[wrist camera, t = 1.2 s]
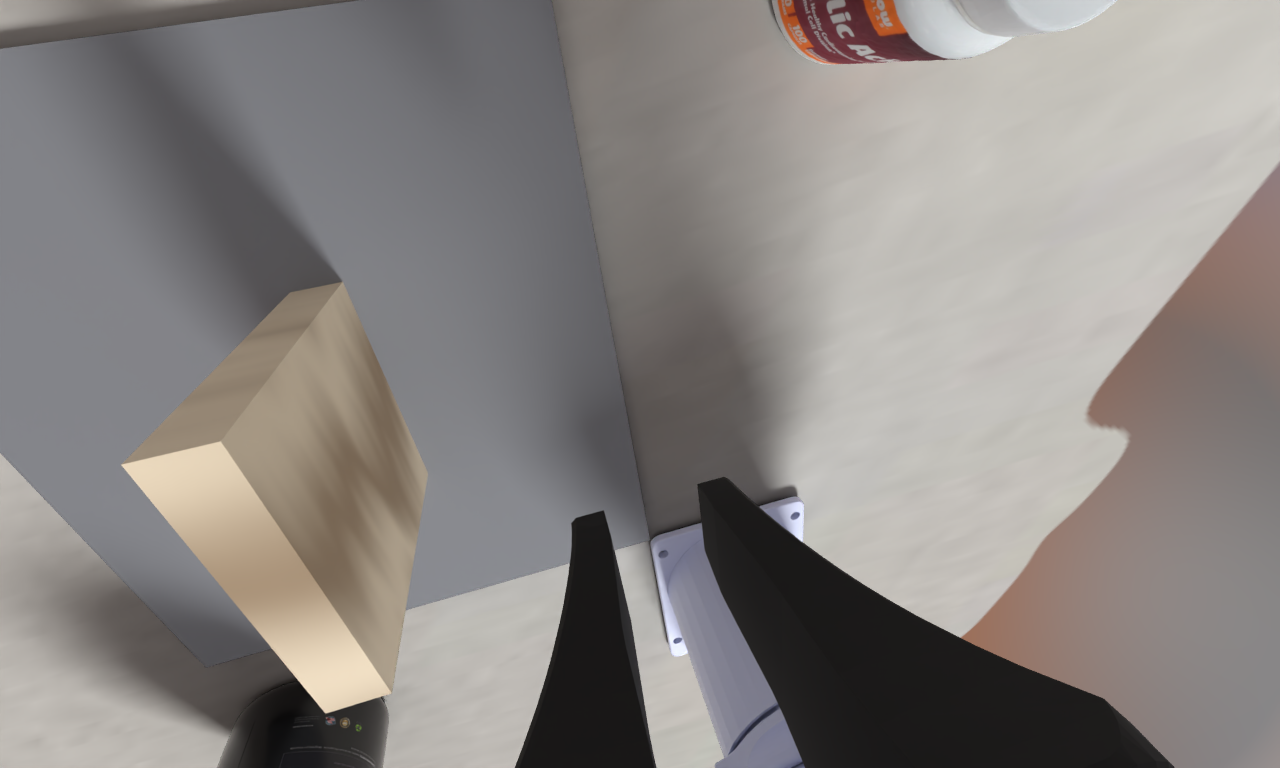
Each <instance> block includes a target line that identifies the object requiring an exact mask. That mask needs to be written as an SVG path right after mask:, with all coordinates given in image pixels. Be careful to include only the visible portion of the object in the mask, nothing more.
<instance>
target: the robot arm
mask: <svg viewBox="0 0 1280 768" xmlns="http://www.w3.org/2000/svg"><path fill="white" fill-rule="evenodd" d="M697 485H698V494H699V503H700V512H701V522H702V523H699V524H695V525H692V526H688V527H685V528H681V529H678V530H674V531H671V532H668V533H664V534H661V535H658V536H656V537H654V538H653V539H652V541H651V550H652V556H653V561H654V567H655V572H656V578H657V583H658V589H659V594H660V600H661V605H662V611H663V616H664V621H665V627H666V632H667V638H668V643H669V649H670V652H671V654H672V655H673V656H681V655H684V654H689V657H690V660H691V663H692V666H693V669H694V672H695V674H696V677H697V680H698V683H699V686H700V689H701V692H702V695H703V698H704V701H705V703H706V706H707V709H708V712H709V715H710V718H711V721H712V724H713V727H714V729H715V732H716V735H717V738H718V741H719V744H720V747H721V750H722V753H723V756H724V759H722V760H720V761H719V762H717V763H716V764H715V768H1174V766H1173V765H1172V764H1171V763H1170V762H1169V761H1168V760H1167V759H1166V758H1165V757H1164V756H1163V755H1162V754H1161V753H1160V752H1158V750H1157V749H1156V748H1155V747H1154V746H1153V745H1152V744H1151V743H1150V742H1149V741H1148V740H1147V739H1146V738H1145V737H1144V736H1143V735H1142V734H1141V733H1140V732H1139V731H1138V730H1137V729H1136V728H1135V727H1134V726H1133V725H1132V724H1131V723H1130V722H1129V721H1128V720H1127V719H1126V718H1125V717H1123V716H1122V715H1121V714H1120V713H1119V712H1118V711H1117V710H1115V709H1114V708H1113V707H1112V706H1111V705H1110V704H1109V703H1108V702H1107V701H1106V700H1105V699H1103V698H1101V697H1098V696H1096V695H1093V694H1091V693H1088V692H1086V691H1083V690H1080V689H1078V688H1075V687H1072V686H1070V685H1067V684H1065V683H1063V682H1060V681H1057V680H1055V679H1052V678H1050V677H1047V676H1045V675H1042V674H1040V673H1037V672H1035V671H1032V670H1029V669H1027V668H1025V667H1022V666H1020V665H1018V664H1015V663H1013V662H1011V661H1009V660H1006V659H1004V658H1002V657H999V656H997V655H995V654H993V653H991V652H988V651H986V650H984V649H982V648H980V647H977V646H975V645H973V644H971V643H969V642H967V641H965V640H963V639H961V638H959V637H957V636H956V635H954V634H952V633H950V632H948V631H946V630H944V629H942V628H940V627H938V626H936V625H934V624H932V623H930V622H928V621H926V620H924V619H922V618H920V617H918V616H916V615H914V614H913V613H911V612H909V611H907V610H906V609H904V608H902V607H900V606H899V605H897V604H895V603H893V602H892V601H890V600H888V599H886V598H885V597H883V596H881V595H880V594H878V593H877V592H875V591H873V590H872V589H870V588H868V587H867V586H865V585H863V584H862V583H860V582H859V581H857V580H856V579H854V578H853V577H851V576H850V575H848V574H847V573H845V572H844V571H842V570H841V569H839V568H838V567H836V566H835V565H833V564H832V563H831V562H829V561H828V560H826V559H825V558H823V557H822V556H821V555H819V554H818V553H817V552H815V551H814V550H812V549H811V548H810V547H808V546H807V545H806V544H804V543H803V522H804V504H803V502H802V500H801V499H800V498H799V497H796V496H795V497H790V498H786V499H783V500H779V501H776V502H772V503H769V504H765V505H762V506H758V505H756V504H755V503H754V502H753V501H752V500H751V499H750V498H748V497H747V496H746V495H745V494H744V493H743V492H742V491H741V490H740V489H739V488H737V487H736V486H735V485H734V484H733V483H732V482H731V481H730V480H729V479H727V478H725V477H722V478H718V479H715V480H711V481H707V482H704V483H700V484H697ZM571 527H572V545H571V558H570V567H569V575H568V581H567V587H566V593H565V599H564V605H563V610H562V615H561V619H560V624H559V628H558V632H557V637H556V641H555V645H554V649H553V653H552V657H551V661H550V665H549V668H548V672H547V675H546V679H545V682H544V685H543V689H542V692H541V695H540V698H539V701H538V705H537V708H536V711H535V714H534V716H533V719H532V722H531V725H530V728H529V731H528V733H527V736H526V739H525V742H524V745H523V748H522V750H521V753H520V756H519V758H518V761H517V763H516V766H515V768H656V764H655V760H654V755H653V750H652V745H651V740H650V735H649V730H648V723H647V717H646V711H645V705H644V699H643V692H642V686H641V680H640V674H639V668H638V661H637V655H636V649H635V643H634V637H633V631H632V625H631V619H630V615H629V611H628V607H627V602H626V598H625V594H624V589H623V585H622V581H621V577H620V572H619V568H618V564H617V560H616V555H615V551H614V547H613V543H612V538H611V534H610V531H609V527H608V523H607V520H606V516H605V512H604V510H602V511H599V512H595V513H592V514H588V515H584V516H581V517H577V518H575V519H574V521H573V522H572V523H571ZM664 550H665V551H664ZM661 551H663V552H661Z"/></svg>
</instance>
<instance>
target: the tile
mask: <svg viewBox="0 0 1280 768" xmlns="http://www.w3.org/2000/svg"><path fill="white" fill-rule="evenodd" d="M121 465H122V467H123V468H124V469H125V470H126V471H127V473H128V474H129V475H130V476H131V478H132V479H133V480H134V481H135V482H136V484H137V485H138V486H139V487H140V488H141V490H142V491H143V492H144V493H145V495H146V496H147V497H148V498H149V499H150V501H151V502H152V503H153V504H154V506H155V507H156V508H157V509H158V510H159V512H160V513H161V514H162V515H163V516H164V518H165V519H166V520H167V521H168V523H169V524H170V525H171V526H172V527H173V529H174V530H175V531H176V532H177V533H178V535H179V536H180V537H181V538H182V540H183V541H184V542H185V543H186V544H187V546H188V547H189V548H190V549H191V551H192V552H193V553H194V554H195V555H196V557H197V558H198V559H199V560H200V561H201V563H202V564H203V565H204V566H205V568H206V569H207V570H208V571H209V572H210V574H211V575H212V576H213V577H214V578H215V580H216V581H217V582H218V583H219V585H220V586H221V587H222V588H223V589H224V591H225V592H226V593H227V594H228V596H229V597H230V598H231V599H232V600H233V602H234V603H235V604H236V605H237V606H238V608H239V609H240V610H241V611H242V613H243V614H244V615H245V616H246V617H247V619H248V620H249V621H250V622H251V623H252V625H253V626H254V627H255V628H256V630H257V631H258V632H259V633H260V634H261V636H262V637H263V638H264V639H265V641H266V642H267V643H268V644H269V645H270V647H271V648H272V649H273V650H274V651H275V653H276V654H277V655H278V656H279V658H280V659H281V660H282V661H283V662H284V664H285V665H286V666H287V667H288V668H289V670H290V671H291V672H292V673H293V675H294V676H295V677H296V678H297V679H298V681H299V682H300V683H301V684H302V686H303V687H304V688H305V689H306V690H307V692H308V693H309V694H310V695H311V696H312V698H313V699H314V700H315V701H316V703H317V704H318V705H319V706H320V707H321V709H322V710H323V711H324V712H325V713H329V712H333V711H336V710H339V709H342V708H346V707H349V706H352V705H355V704H359V703H362V702H365V701H368V700H372V699H375V698H378V697H381V696H385V695H388V694H391V693H392V689H393V683H394V677H395V671H396V665H397V658H398V652H399V646H400V640H401V634H402V628H403V622H404V616H405V610H406V604H407V598H408V592H409V586H410V580H411V574H412V568H413V562H414V556H415V550H416V544H417V538H418V532H419V526H420V519H421V513H422V507H423V501H424V495H425V489H426V483H427V477H428V472H427V470H426V468H425V465H424V463H423V461H422V459H421V456H420V454H419V452H418V450H417V447H416V445H415V443H414V441H413V438H412V436H411V434H410V432H409V429H408V427H407V425H406V423H405V420H404V418H403V416H402V414H401V411H400V409H399V407H398V405H397V402H396V400H395V398H394V396H393V393H392V391H391V389H390V387H389V385H388V382H387V380H386V378H385V376H384V373H383V371H382V369H381V367H380V364H379V362H378V360H377V358H376V355H375V353H374V351H373V349H372V346H371V344H370V342H369V340H368V337H367V335H366V333H365V331H364V328H363V326H362V324H361V322H360V319H359V317H358V315H357V313H356V310H355V308H354V306H353V304H352V301H351V299H350V297H349V295H348V292H347V290H346V288H345V286H344V284H343V282H339V283H334V284H329V285H324V286H319V287H314V288H310V289H305V290H300V291H295V292H290V293H289V294H288V295H287V296H286V297H285V298H284V299H283V300H282V301H281V302H280V303H279V304H278V305H277V306H276V307H275V308H274V309H273V310H272V311H271V312H270V313H269V314H268V315H267V316H266V317H265V318H264V319H263V320H262V322H261V323H260V324H259V325H258V326H257V327H256V328H255V329H254V330H253V331H252V332H251V333H250V334H249V335H248V336H247V337H246V338H245V339H244V340H243V341H242V342H241V343H240V344H239V345H238V346H237V347H236V348H235V349H234V350H233V351H232V352H231V353H230V354H229V355H228V356H227V357H226V358H225V359H224V360H223V361H222V362H221V363H220V364H219V365H218V366H217V367H216V368H215V369H214V370H213V371H212V373H211V374H210V375H209V376H208V377H207V378H206V379H205V380H204V381H203V382H202V383H201V384H200V385H199V386H198V387H197V388H196V389H195V390H194V391H193V392H192V393H191V394H190V395H189V396H188V397H187V398H186V399H185V400H184V401H183V402H182V403H181V404H180V405H179V406H178V407H177V408H176V409H175V410H174V411H173V412H172V413H171V414H170V415H169V416H168V417H167V418H166V419H165V420H164V421H163V423H162V424H161V425H160V426H159V427H158V428H157V429H156V430H155V431H154V432H153V433H152V434H151V435H150V436H149V437H148V438H147V439H146V440H145V441H144V442H143V443H142V444H141V445H140V446H139V447H138V448H137V449H136V450H135V451H134V452H133V453H132V454H131V455H130V456H129V457H128V458H127V459H126V460H125V461H124V462H123V463H122V464H121Z"/></svg>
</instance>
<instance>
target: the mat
mask: <svg viewBox="0 0 1280 768" xmlns="http://www.w3.org/2000/svg"><path fill="white" fill-rule="evenodd" d="M339 282H343V284H344V286H345V288H346V290H347V292H348V295H349V297H350V299H351V301H352V304H353V306H354V308H355V310H356V313H357V315H358V317H359V319H360V322H361V324H362V326H363V328H364V331H365V333H366V335H367V337H368V340H369V342H370V344H371V346H372V349H373V351H374V353H375V355H376V358H377V360H378V362H379V364H380V367H381V369H382V371H383V373H384V376H385V378H386V380H387V382H388V385H389V387H390V389H391V391H392V393H393V396H394V398H395V400H396V402H397V405H398V407H399V409H400V411H401V414H402V416H403V418H404V420H405V423H406V425H407V427H408V429H409V432H410V434H411V436H412V438H413V441H414V443H415V445H416V447H417V450H418V452H419V454H420V456H421V459H422V461H423V463H424V465H425V468H426V470H427V472H428V477H427V483H426V489H425V495H424V501H423V507H422V513H421V519H420V526H419V532H418V538H417V544H416V550H415V556H414V562H413V568H412V574H411V580H410V586H409V592H408V598H407V604H406V610H408V609H412V608H415V607H419V606H422V605H426V604H429V603H433V602H436V601H440V600H443V599H447V598H450V597H453V596H457V595H460V594H464V593H467V592H471V591H474V590H478V589H481V588H485V587H488V586H492V585H495V584H499V583H502V582H506V581H509V580H513V579H516V578H520V577H523V576H527V575H530V574H534V573H537V572H540V571H544V570H547V569H551V568H554V567H558V566H561V565H565V564H568V563H570V558H571V545H572V527H571V523H572V522H573V521H574V519H575V518H577V517H581V516H584V515H588V514H592V513H595V512H599V511H602V510H604V512H605V516H606V520H607V523H608V527H609V531H610V534H611V538H612V543H613V547H614V550H617V549H621V548H624V547H627V546H631V545H634V544H638V543H641V542H645V541H648V540H650V538H649V532H648V527H647V521H646V516H645V510H644V505H643V499H642V494H641V488H640V483H639V477H638V472H637V466H636V461H635V455H634V450H633V444H632V439H631V433H630V428H629V422H628V417H627V411H626V406H625V401H624V395H623V390H622V384H621V379H620V373H619V368H618V362H617V357H616V351H615V346H614V340H613V335H612V329H611V324H610V318H609V313H608V307H607V302H606V296H605V291H604V285H603V280H602V274H601V269H600V264H599V258H598V253H597V247H596V242H595V236H594V231H593V225H592V220H591V214H590V209H589V203H588V198H587V192H586V187H585V181H584V176H583V170H582V165H581V159H580V154H579V148H578V143H577V137H576V132H575V127H574V121H573V116H572V110H571V105H570V99H569V94H568V88H567V83H566V77H565V72H564V66H563V61H562V55H561V50H560V44H559V39H558V33H557V28H556V22H555V17H554V11H553V6H552V0H357V1H349V2H342V3H334V4H327V5H320V6H312V7H305V8H298V9H290V10H283V11H275V12H268V13H261V14H253V15H246V16H238V17H231V18H224V19H216V20H209V21H202V22H194V23H187V24H179V25H172V26H165V27H157V28H150V29H142V30H135V31H128V32H120V33H113V34H106V35H98V36H91V37H83V38H76V39H69V40H61V41H54V42H46V43H39V44H32V45H24V46H17V47H10V48H2V49H0V453H1V454H2V455H3V456H4V457H5V458H6V459H7V460H8V462H9V463H10V464H11V465H12V466H13V467H14V468H15V469H16V470H17V471H18V472H19V473H20V474H21V475H22V476H23V477H24V478H25V479H26V480H27V481H28V482H29V483H30V484H31V486H32V487H33V488H34V489H35V490H36V491H37V492H38V493H39V494H40V495H41V496H42V497H43V498H44V499H45V500H46V501H47V502H48V503H49V504H50V505H51V506H52V507H53V508H54V510H55V511H56V512H57V513H58V514H59V515H60V516H61V517H62V518H63V519H64V520H65V521H66V522H67V523H68V524H69V525H70V526H71V527H72V528H73V529H74V530H75V531H76V532H77V534H78V535H79V536H80V537H81V538H82V539H83V540H84V541H85V542H86V543H87V544H88V545H89V546H90V547H91V548H92V549H93V550H94V551H95V552H96V553H97V554H98V555H99V556H100V558H101V559H102V560H103V561H104V562H105V563H106V564H107V565H108V566H109V567H110V568H111V569H112V570H113V571H114V572H115V573H116V574H117V575H118V576H119V577H120V578H121V579H122V581H123V582H124V583H125V584H126V585H127V586H128V587H129V588H130V589H131V590H132V591H133V592H134V593H135V594H136V595H137V596H138V597H139V598H140V599H141V600H142V601H143V602H144V603H145V605H146V606H147V607H148V608H149V609H150V610H151V611H152V612H153V613H154V614H155V615H156V616H157V617H158V618H159V619H160V620H161V621H162V622H163V623H164V624H165V625H166V626H167V627H168V629H169V630H170V631H171V632H172V633H173V634H174V635H175V636H176V637H177V638H178V639H179V640H180V641H181V642H182V643H183V644H184V645H185V646H186V647H187V648H188V649H189V650H190V651H191V653H192V654H193V655H194V656H195V657H196V658H197V659H198V660H199V661H200V662H201V663H202V664H203V665H204V666H205V667H210V666H213V665H217V664H220V663H224V662H227V661H231V660H234V659H238V658H241V657H245V656H248V655H252V654H255V653H259V652H262V651H266V650H269V649H272V648H271V647H270V645H269V644H268V643H267V642H266V641H265V639H264V638H263V637H262V636H261V634H260V633H259V632H258V631H257V630H256V628H255V627H254V626H253V625H252V623H251V622H250V621H249V620H248V619H247V617H246V616H245V615H244V614H243V613H242V611H241V610H240V609H239V608H238V606H237V605H236V604H235V603H234V602H233V600H232V599H231V598H230V597H229V596H228V594H227V593H226V592H225V591H224V589H223V588H222V587H221V586H220V585H219V583H218V582H217V581H216V580H215V578H214V577H213V576H212V575H211V574H210V572H209V571H208V570H207V569H206V568H205V566H204V565H203V564H202V563H201V561H200V560H199V559H198V558H197V557H196V555H195V554H194V553H193V552H192V551H191V549H190V548H189V547H188V546H187V544H186V543H185V542H184V541H183V540H182V538H181V537H180V536H179V535H178V533H177V532H176V531H175V530H174V529H173V527H172V526H171V525H170V524H169V523H168V521H167V520H166V519H165V518H164V516H163V515H162V514H161V513H160V512H159V510H158V509H157V508H156V507H155V506H154V504H153V503H152V502H151V501H150V499H149V498H148V497H147V496H146V495H145V493H144V492H143V491H142V490H141V488H140V487H139V486H138V485H137V484H136V482H135V481H134V480H133V479H132V478H131V476H130V475H129V474H128V473H127V471H126V470H125V469H124V468H123V467H122V465H121V464H122V463H123V462H124V461H125V460H126V459H127V458H128V457H129V456H130V455H131V454H132V453H133V452H134V451H135V450H136V449H137V448H138V447H139V446H140V445H141V444H142V443H143V442H144V441H145V440H146V439H147V438H148V437H149V436H150V435H151V434H152V433H153V432H154V431H155V430H156V429H157V428H158V427H159V426H160V425H161V424H162V423H163V421H164V420H165V419H166V418H167V417H168V416H169V415H170V414H171V413H172V412H173V411H174V410H175V409H176V408H177V407H178V406H179V405H180V404H181V403H182V402H183V401H184V400H185V399H186V398H187V397H188V396H189V395H190V394H191V393H192V392H193V391H194V390H195V389H196V388H197V387H198V386H199V385H200V384H201V383H202V382H203V381H204V380H205V379H206V378H207V377H208V376H209V375H210V374H211V373H212V371H213V370H214V369H215V368H216V367H217V366H218V365H219V364H220V363H221V362H222V361H223V360H224V359H225V358H226V357H227V356H228V355H229V354H230V353H231V352H232V351H233V350H234V349H235V348H236V347H237V346H238V345H239V344H240V343H241V342H242V341H243V340H244V339H245V338H246V337H247V336H248V335H249V334H250V333H251V332H252V331H253V330H254V329H255V328H256V327H257V326H258V325H259V324H260V323H261V322H262V320H263V319H264V318H265V317H266V316H267V315H268V314H269V313H270V312H271V311H272V310H273V309H274V308H275V307H276V306H277V305H278V304H279V303H280V302H281V301H282V300H283V299H284V298H285V297H286V296H287V295H288V294H289V293H290V292H295V291H300V290H305V289H310V288H314V287H319V286H324V285H329V284H334V283H339Z"/></svg>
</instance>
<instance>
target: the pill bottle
mask: <svg viewBox="0 0 1280 768" xmlns="http://www.w3.org/2000/svg"><path fill="white" fill-rule="evenodd" d="M1116 1H1117V0H772V4H773V9H774V12H775V16H776V20H777V23H778V25H779V27H780V29H781V31H782V33H783V35H784V37H785V38H786V40H787V41H788V43H789V44H790V45H791V46H792V47H793V49H794V50H795V51H796V52H797V53H799V54H800V55H801V56H803V57H805V58H806V59H808V60H810V61H813V62H816V63H819V64H825V65H836V64H856V63H884V62H899V61H915V60H918V61H929V60H948V59H950V60H956V59H966V58H971V57H974V56H977V55H980V54H983V53H985V52H988V51H990V50H992V49H994V48H996V47H998V46H1000V45H1002V44H1004V43H1006V42H1007V41H1009V40H1010V39H1012V38H1013V37H1019V36H1025V35H1033V34H1044V33H1053V32H1059V31H1064V30H1068V29H1072V28H1074V27H1077V26H1080V25H1082V24H1084V23H1086V22H1088V21H1089V20H1091V19H1093V18H1095V17H1096V16H1098V15H1099V14H1101V13H1102V12H1103V11H1105V10H1106V9H1107V8H1109V7H1110V6H1111V5H1113V4H1114V3H1115V2H1116Z"/></svg>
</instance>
